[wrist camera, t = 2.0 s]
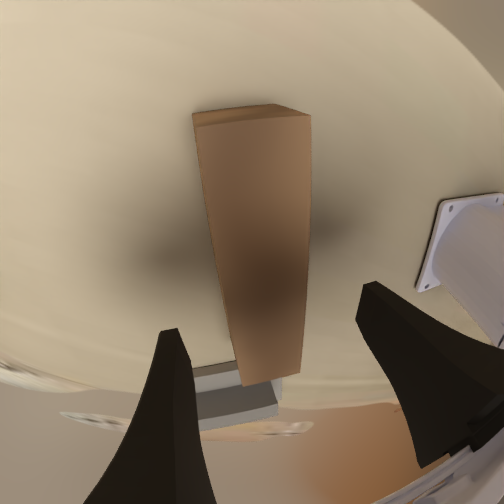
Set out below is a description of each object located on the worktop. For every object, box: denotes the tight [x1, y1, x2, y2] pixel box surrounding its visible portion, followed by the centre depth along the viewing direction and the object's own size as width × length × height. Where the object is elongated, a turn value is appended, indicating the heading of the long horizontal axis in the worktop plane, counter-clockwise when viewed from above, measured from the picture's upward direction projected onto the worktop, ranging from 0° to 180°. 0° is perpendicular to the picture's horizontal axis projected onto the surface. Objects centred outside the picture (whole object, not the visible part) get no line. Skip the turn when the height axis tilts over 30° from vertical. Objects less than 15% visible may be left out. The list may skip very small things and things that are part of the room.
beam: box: [192, 104, 311, 387], centre depth 14 cm, size 4×14×4 cm, turn 4°
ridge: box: [192, 361, 282, 431], centre depth 21 cm, size 9×7×3 cm
